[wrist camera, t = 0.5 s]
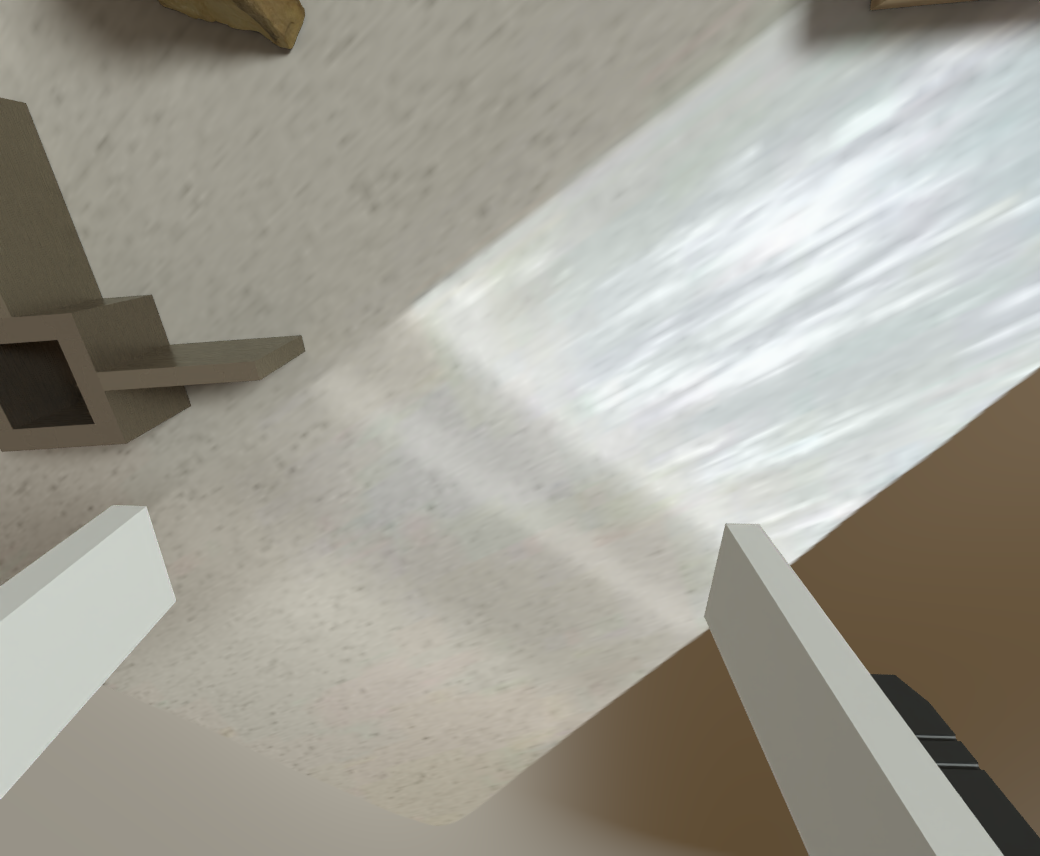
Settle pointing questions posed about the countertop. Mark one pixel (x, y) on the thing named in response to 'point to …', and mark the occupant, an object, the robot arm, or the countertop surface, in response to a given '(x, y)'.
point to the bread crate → (907, 3)
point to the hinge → (86, 325)
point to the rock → (249, 16)
